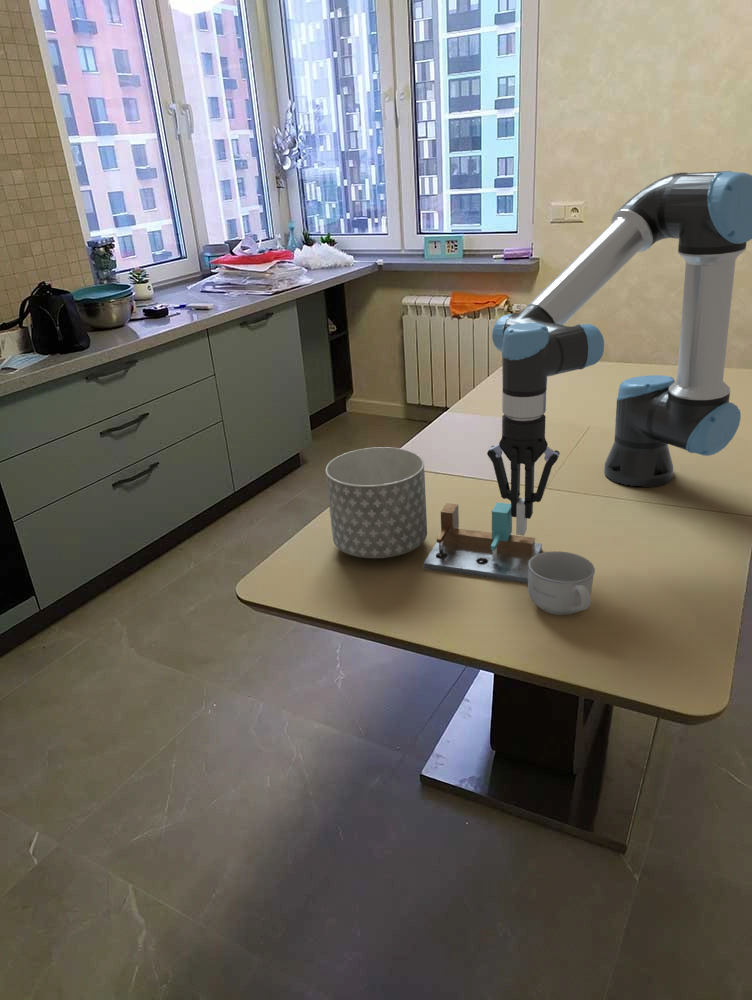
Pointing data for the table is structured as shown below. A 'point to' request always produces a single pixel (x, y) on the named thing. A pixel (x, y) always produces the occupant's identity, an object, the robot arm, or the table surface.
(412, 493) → the planter
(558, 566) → the teacup
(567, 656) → the table surface
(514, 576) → the gauge board
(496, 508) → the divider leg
